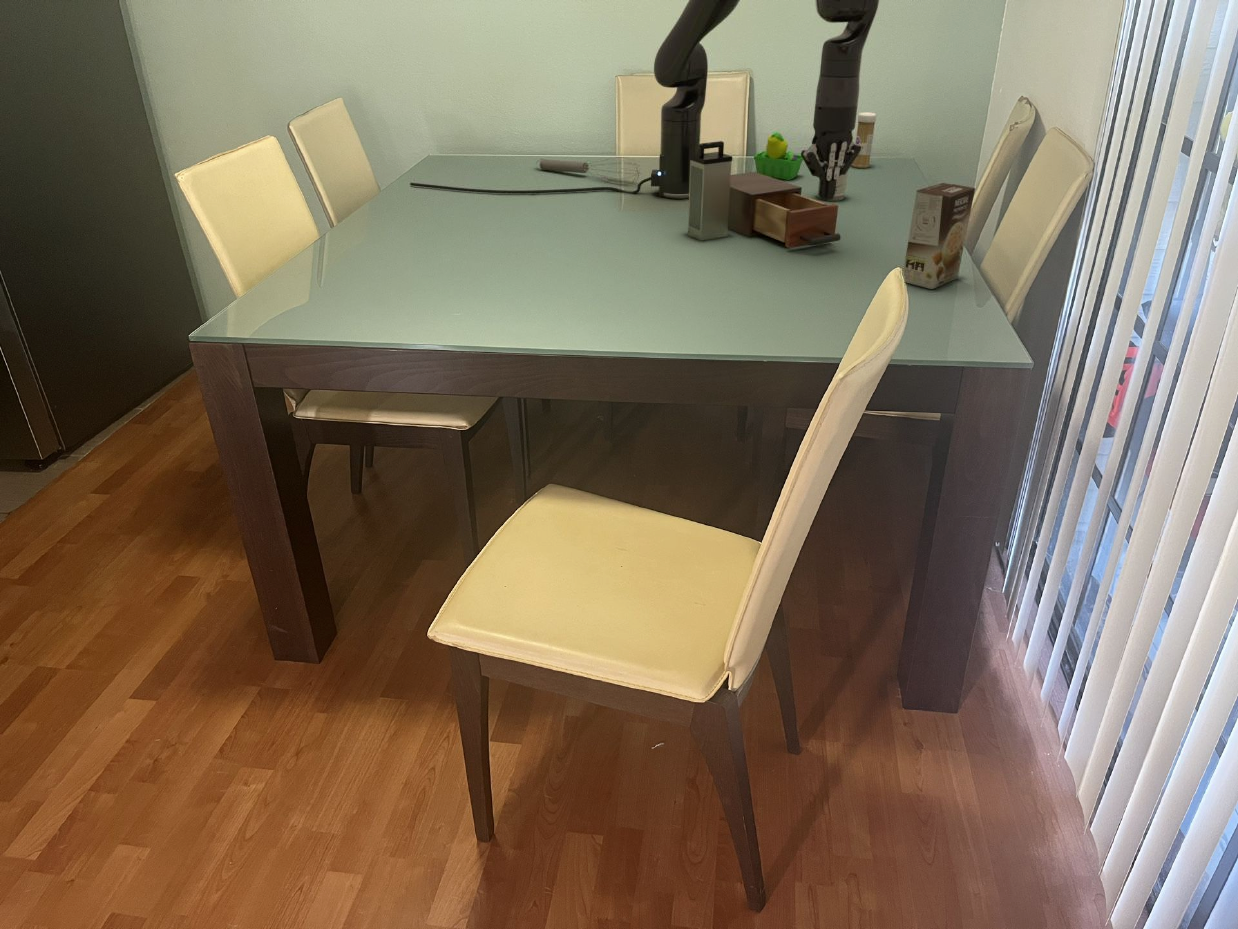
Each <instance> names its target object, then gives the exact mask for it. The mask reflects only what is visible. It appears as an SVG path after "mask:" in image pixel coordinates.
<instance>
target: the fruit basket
mask: <svg viewBox="0 0 1238 929" xmlns="http://www.w3.org/2000/svg"><path fill="white" fill-rule="evenodd" d="M788 147H789V144H788V141H787V140H786V139H785V138H784V137H783V135H782V133H780V132H778V131H777V132H776V131H775V132H774V133H772V134H770V135H769V137H768V138H767V143H766V148H765V150H764V151H761V152H758V153H756V154H754V155H753V160H754V163H755V170H756V173H759V174H762V175H765V176H769V177H772V178H775V179H778V180H783V181H784V180H785V181H790V180H793V179H794V178H796V177H798V174H799V171H800V168H801V165H802V164H803V162H804V160H803V158H802V156H801V154H794V153H793V152H792V151H789V150H788ZM787 150H788V152H787Z"/></svg>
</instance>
